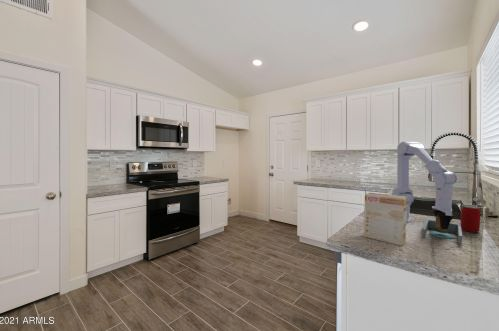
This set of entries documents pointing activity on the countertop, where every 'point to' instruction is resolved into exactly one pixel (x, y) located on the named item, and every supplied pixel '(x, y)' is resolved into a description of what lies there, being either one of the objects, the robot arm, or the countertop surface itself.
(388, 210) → the coffeecake box
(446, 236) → the pad
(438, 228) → the walnut cylinder
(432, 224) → the grey angular frame piece
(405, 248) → the countertop surface
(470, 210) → the beverage can
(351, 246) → the countertop surface
